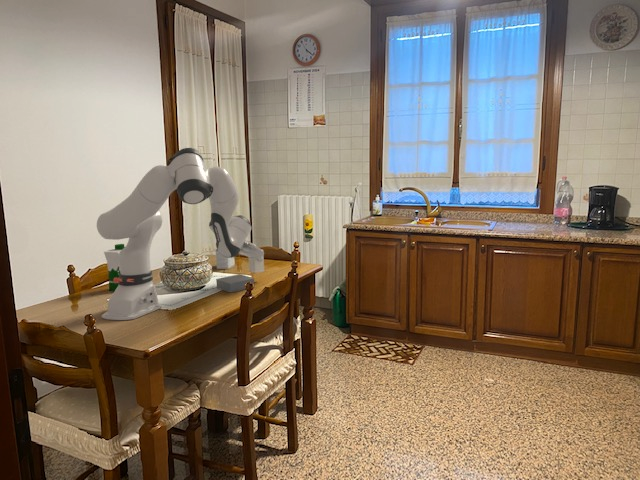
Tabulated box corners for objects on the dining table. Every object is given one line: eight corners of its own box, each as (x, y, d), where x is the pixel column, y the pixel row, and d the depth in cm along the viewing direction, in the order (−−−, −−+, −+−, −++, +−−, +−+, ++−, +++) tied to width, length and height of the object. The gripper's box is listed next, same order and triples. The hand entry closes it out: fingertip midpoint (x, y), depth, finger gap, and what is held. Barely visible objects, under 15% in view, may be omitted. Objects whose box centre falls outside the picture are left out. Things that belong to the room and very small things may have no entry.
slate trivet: (230, 292, 212) (230, 283, 212) (216, 287, 221) (216, 279, 221) (254, 287, 220) (254, 278, 219) (240, 282, 229) (239, 274, 228)
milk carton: (135, 287, 228) (131, 244, 225) (121, 292, 220) (116, 247, 216) (120, 286, 231) (115, 243, 228) (105, 291, 223) (100, 247, 219)
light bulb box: (223, 264, 269) (221, 244, 268) (235, 264, 268) (233, 244, 267) (216, 269, 259) (214, 248, 257) (228, 269, 258) (227, 248, 256)
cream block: (255, 273, 227) (254, 251, 225) (249, 271, 230) (248, 250, 229) (264, 271, 230) (263, 249, 228) (258, 269, 234) (257, 248, 232)
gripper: (254, 238, 215) (274, 257, 223) (230, 233, 230) (249, 251, 238) (246, 250, 213) (266, 268, 221) (222, 244, 228) (241, 261, 236)
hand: (257, 259), depth 230 cm, fingers closed on cream block, 5 cm apart
